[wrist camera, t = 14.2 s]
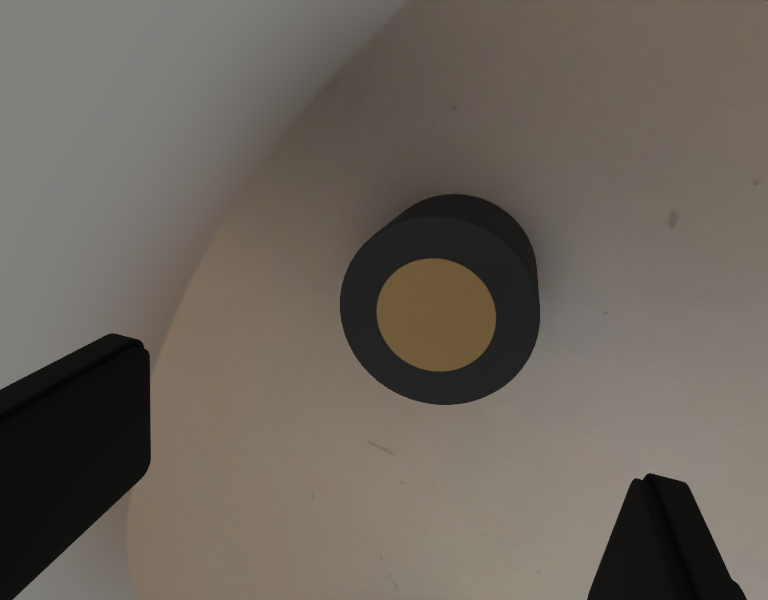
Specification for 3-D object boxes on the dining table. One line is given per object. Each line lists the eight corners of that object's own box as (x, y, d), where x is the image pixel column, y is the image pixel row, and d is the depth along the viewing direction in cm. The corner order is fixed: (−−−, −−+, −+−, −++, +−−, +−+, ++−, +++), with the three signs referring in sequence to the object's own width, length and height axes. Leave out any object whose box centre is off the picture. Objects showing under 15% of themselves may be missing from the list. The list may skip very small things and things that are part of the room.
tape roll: (517, 174, 19) (515, 192, 15) (551, 334, 21) (558, 393, 16) (357, 216, 21) (313, 243, 17) (400, 359, 23) (369, 417, 19)
